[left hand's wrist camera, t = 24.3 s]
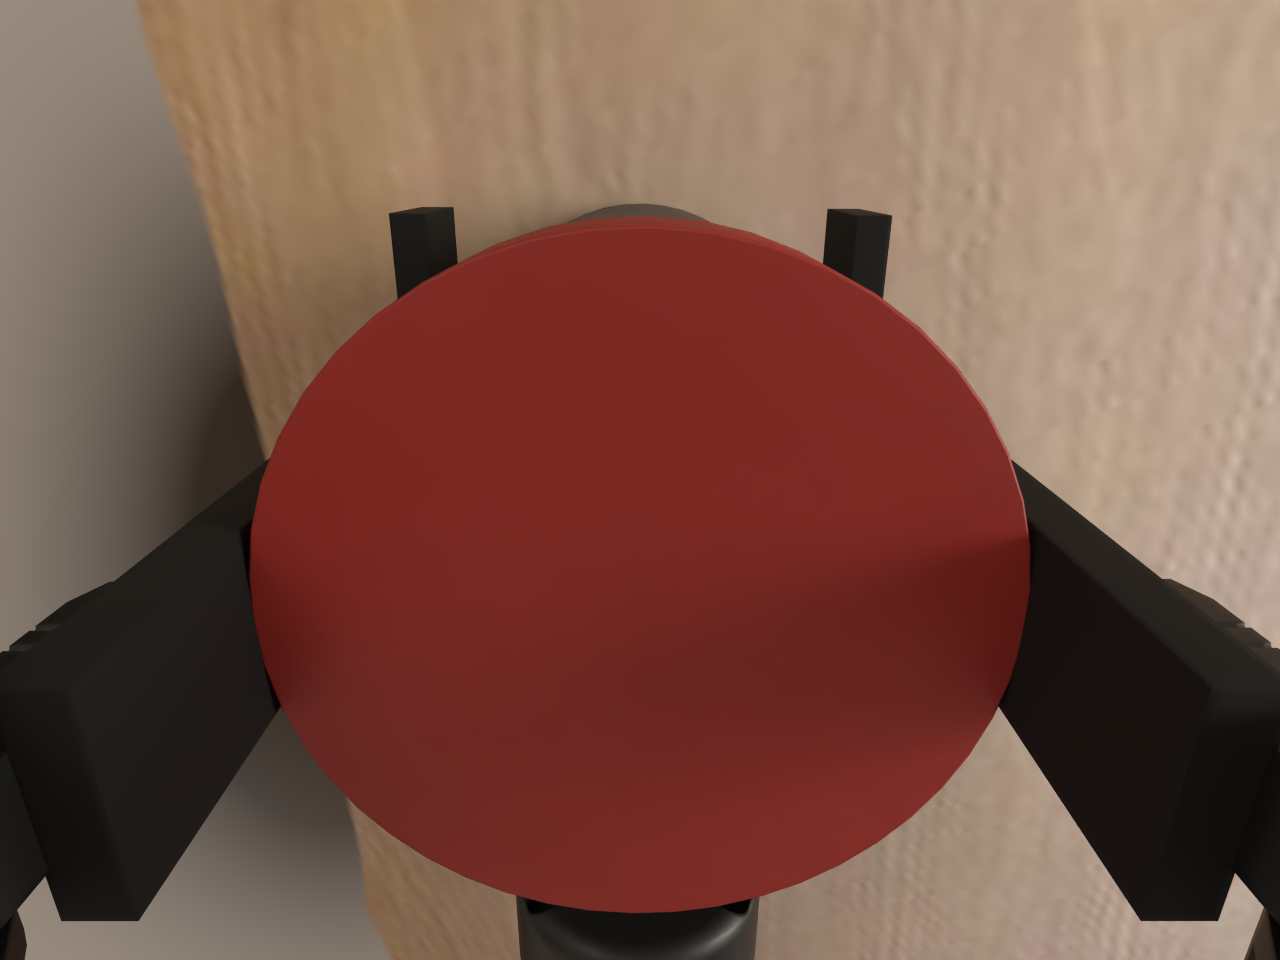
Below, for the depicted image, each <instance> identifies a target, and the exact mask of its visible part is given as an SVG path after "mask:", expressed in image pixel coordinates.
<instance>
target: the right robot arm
mask: <svg viewBox="0 0 1280 960" xmlns="http://www.w3.org/2000/svg"><path fill="white" fill-rule="evenodd" d="M389 218H390V228H391V238H392V247H393V257H394V266H395V276H396V286H397V295H398V299H399V298H400V297H402V296H403V295H405V294H406V293H408V292H409V291H411V290H412V289H413V288H415V287H416V286H418V285H419V284H421V283H422V282H424V281H426V280H428V279H430V278H431V277H433V276H435V275H437V274H439V273H441V272H443V271H444V270H446V269H448V268H450V267H452V266H454V265H456V264H458V262H457V249H456V236H455V222H454V209H453V207H420V208H415V209H410V210H405V211H399V212H394V213H389ZM891 222H892V216H891V215H886V214H881V213H876V212H871V211H866V210H861V209H828V211H827V222H826V234H825V246H824V258H823V264H824V265H826V266H828V267H829V268H831V269H833V270H835V271H836V272H838V273H840V274H842V275H844V276H845V277H847V278H849V279H851V280H852V281H854V282H856V283H858V284H860V285H861V286H863V287H865V288H867V289H868V290H870V291H872V292H874V293H876V294H877V295H878V296H879V297H881V298H882V299H883V293H884V284H885V275H886V266H887V257H888V248H889V239H890V230H891ZM516 901H517V915H518V930H519V944H520V957H521V960H754V957H755V945H756V932H757V919H758V906H759V897H756V898H752V899H747V900H743V901H739V902H734V903H730V904H726V905H721V906H716V907H708V908H700V909H693V910H685V911H677V912H652V913H623V912H608V911H592V910H584V909H578V908H572V907H566V906H560V905H554V904H548V903H544V902H540V901H536V900H532V899H529V898H525V897H521V896H517V895H516Z"/></svg>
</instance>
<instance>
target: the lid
mask: <svg viewBox="0 0 1280 960" xmlns="http://www.w3.org/2000/svg"><path fill="white" fill-rule="evenodd" d="M1030 559H1031V547H1030V539H1029V533H1028V526H1027V520H1026V513H1025V507H1024V500H1023V497H1022V493H1021V490H1020V487H1019V484H1018V481H1017V478H1016V474H1015V471H1014V468H1013V465H1012V462H1011V459H1010V455H1009V453H1008V451H1007V449H1006V447H1005V445H1004V443H1003V440H1002V438H1001V436H1000V434H999V432H998V430H997V428H996V426H995V424H994V422H993V420H992V418H991V416H990V414H989V412H988V410H987V408H986V407H985V406H984V404H983V403H982V401H981V400H980V398H979V397H978V396H977V394H976V393H975V391H974V390H973V388H972V387H971V386H970V384H969V383H968V381H967V380H966V379H965V377H964V376H963V374H962V373H961V371H960V370H959V369H958V367H957V366H956V365H955V364H954V363H953V362H952V361H951V360H950V359H949V358H948V357H947V356H946V354H945V353H944V352H943V351H942V350H941V349H940V348H939V347H938V346H937V345H936V344H935V343H934V342H933V341H932V340H931V339H930V338H929V337H928V336H927V335H926V334H925V333H924V332H923V331H922V330H921V328H920V327H918V326H917V325H916V324H914V323H913V322H912V321H911V320H909V319H908V318H907V317H905V316H904V315H903V314H901V313H900V312H899V311H898V310H896V309H895V308H894V307H892V306H891V305H890V304H888V303H887V302H886V301H885V300H883V299H882V298H881V297H879V296H878V295H877V294H876V293H874V292H872V291H870V290H868V289H867V288H865V287H863V286H861V285H860V284H858V283H856V282H854V281H852V280H851V279H849V278H847V277H845V276H844V275H842V274H840V273H838V272H836V271H835V270H833V269H831V268H829V267H828V266H826V265H824V264H822V263H820V262H818V261H816V260H815V259H813V258H811V257H809V256H807V255H805V254H803V253H802V252H800V251H798V250H795V249H792V248H790V247H787V246H785V245H782V244H780V243H777V242H774V241H772V240H769V239H767V238H764V237H762V236H759V235H756V234H754V233H751V232H747V231H743V230H739V229H734V228H730V227H726V226H722V225H717V224H713V223H709V222H705V221H700V220H689V219H678V218H668V217H657V216H633V217H610V218H595V219H590V220H584V221H579V222H573V223H568V224H562V225H557V226H551V227H546V228H543V229H540V230H537V231H534V232H531V233H528V234H525V235H522V236H519V237H516V238H513V239H510V240H507V241H504V242H501V243H498V244H496V245H494V246H492V247H490V248H488V249H486V250H484V251H482V252H480V253H478V254H476V255H474V256H472V257H470V258H468V259H466V260H464V261H462V262H460V263H458V264H456V265H454V266H452V267H450V268H448V269H446V270H444V271H443V272H441V273H439V274H437V275H435V276H433V277H431V278H430V279H428V280H426V281H424V282H422V283H421V284H419V285H418V286H416V287H415V288H413V289H412V290H411V291H409V292H408V293H406V294H405V295H403V296H402V297H400V298H399V299H398V300H396V301H395V302H393V303H392V304H390V305H389V306H387V307H386V308H385V309H383V310H382V311H380V312H379V313H377V314H376V315H375V316H374V317H373V318H371V319H370V320H369V321H368V322H367V323H366V324H365V325H364V326H363V327H362V328H361V329H360V330H359V331H358V332H357V333H355V334H354V335H353V336H352V337H351V338H350V339H349V340H348V341H347V342H346V343H345V344H344V345H343V346H342V347H340V348H339V349H338V350H337V351H336V352H335V353H334V355H333V356H332V357H331V359H330V360H329V361H328V362H327V364H326V365H325V366H324V367H323V369H322V370H321V371H320V372H319V374H318V375H317V376H316V377H315V379H314V380H313V381H312V383H311V384H310V385H309V386H308V388H307V389H306V390H305V391H304V393H303V394H302V396H301V398H300V400H299V401H298V403H297V405H296V407H295V408H294V410H293V412H292V414H291V415H290V417H289V419H288V421H287V422H286V424H285V426H284V428H283V429H282V431H281V433H280V435H279V436H278V439H277V441H276V444H275V447H274V449H273V452H272V455H271V457H270V460H269V463H268V465H267V468H266V471H265V473H264V476H263V478H262V481H261V484H260V489H259V494H258V499H257V503H256V508H255V513H254V518H253V522H252V527H251V540H250V559H249V586H250V596H251V603H252V609H253V614H254V620H255V625H256V630H257V634H258V639H259V644H260V649H261V653H262V658H263V663H264V666H265V669H266V671H267V674H268V676H269V679H270V681H271V684H272V686H273V689H274V691H275V694H276V696H277V699H278V701H279V703H280V706H281V707H282V709H283V711H284V713H285V714H286V716H287V718H288V720H289V721H290V723H291V725H292V727H293V728H294V730H295V732H296V733H297V735H298V737H299V739H300V740H301V742H302V744H303V745H304V746H305V748H306V749H307V750H308V752H309V753H310V754H311V755H312V757H313V758H314V759H315V761H316V762H317V763H318V765H319V766H320V767H321V769H322V770H323V771H324V773H325V774H326V775H327V777H328V778H329V779H330V780H331V781H332V782H333V783H334V784H335V785H336V786H337V787H338V788H339V789H340V790H341V791H342V792H343V793H344V794H345V795H346V796H347V797H348V798H349V799H350V800H351V801H352V802H353V803H354V804H355V806H356V807H357V808H359V809H360V810H361V811H362V812H364V813H365V814H366V815H367V816H368V817H370V818H371V819H372V820H373V821H375V822H376V823H377V824H378V825H380V826H381V827H382V828H383V829H384V830H386V831H387V832H388V833H389V834H391V835H392V836H394V837H395V838H397V839H398V840H400V841H401V842H403V843H405V844H406V845H408V846H409V847H411V848H412V849H414V850H415V851H417V852H419V853H420V854H422V855H423V856H425V857H426V858H428V859H430V860H432V861H434V862H436V863H438V864H440V865H442V866H444V867H446V868H448V869H450V870H452V871H454V872H456V873H458V874H460V875H462V876H464V877H466V878H469V879H472V880H474V881H477V882H479V883H482V884H485V885H487V886H490V887H493V888H495V889H498V890H501V891H503V892H506V893H510V894H514V895H517V896H521V897H525V898H529V899H532V900H536V901H540V902H544V903H548V904H554V905H560V906H566V907H572V908H578V909H584V910H592V911H608V912H623V913H652V912H677V911H685V910H693V909H700V908H708V907H716V906H721V905H726V904H730V903H734V902H739V901H743V900H747V899H752V898H756V897H760V896H763V895H766V894H769V893H772V892H775V891H778V890H781V889H784V888H787V887H790V886H793V885H796V884H799V883H801V882H803V881H806V880H808V879H810V878H812V877H814V876H817V875H819V874H821V873H823V872H825V871H828V870H830V869H832V868H834V867H836V866H839V865H840V864H842V863H844V862H846V861H847V860H849V859H851V858H852V857H854V856H856V855H857V854H859V853H861V852H862V851H864V850H866V849H868V848H869V847H871V846H873V845H874V844H876V843H877V842H879V841H880V840H881V839H883V838H884V837H885V836H887V835H888V834H889V833H891V832H892V831H893V830H895V829H896V828H897V827H899V826H900V825H901V824H903V823H904V822H905V821H907V820H908V819H909V818H911V817H912V816H913V815H914V814H915V813H916V812H917V811H918V810H919V809H920V808H921V807H922V806H923V805H924V804H926V803H927V802H928V801H929V800H930V799H931V798H932V797H933V796H934V795H935V794H936V793H937V792H938V791H939V790H940V789H941V788H942V787H943V786H944V785H945V784H946V782H947V781H948V780H949V779H950V778H951V776H952V775H953V774H954V773H955V772H956V770H957V769H958V768H959V767H960V766H961V764H962V763H963V762H964V761H965V760H966V758H967V757H968V756H969V755H970V753H971V752H972V750H973V748H974V747H975V745H976V744H977V742H978V741H979V739H980V737H981V736H982V734H983V733H984V731H985V730H986V728H987V726H988V725H989V723H990V722H991V720H992V719H993V716H994V714H995V712H996V710H997V708H998V706H999V704H1000V701H1001V699H1002V697H1003V695H1004V693H1005V691H1006V688H1007V686H1008V684H1009V682H1010V680H1011V677H1012V674H1013V670H1014V667H1015V664H1016V659H1017V655H1018V650H1019V646H1020V641H1021V636H1022V631H1023V626H1024V621H1025V615H1026V610H1027V605H1028V599H1029V594H1030Z"/></svg>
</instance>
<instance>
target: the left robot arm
mask: <svg viewBox="0 0 1280 960" xmlns="http://www.w3.org/2000/svg"><path fill="white" fill-rule="evenodd" d="M269 460H270V459H268V460H267V461H266V462H264V463H263V464H262V465H261V466H259V467H258V468H257V469H256V470H254V471H253V472H252V473H251V474H249V475H248V476H247V477H246V478H244V479H243V480H242V481H240V482H239V483H238V484H237V485H236V486H234V487H233V488H232V489H230V490H229V491H228V492H227V493H225V494H224V495H223V496H222V497H220V498H219V499H218V500H217V501H215V502H214V503H213V504H212V505H210V506H209V507H208V508H206V509H205V510H204V511H203V512H201V513H200V514H199V515H198V516H196V517H195V518H194V519H192V520H191V521H190V522H189V523H187V524H186V525H185V526H184V527H182V528H181V529H180V530H179V531H177V532H176V533H175V534H174V535H172V536H171V537H170V538H168V539H167V540H166V541H165V542H163V543H162V544H161V545H160V546H158V547H157V548H156V549H155V550H153V551H152V552H151V553H150V554H148V555H147V556H146V557H144V558H143V559H142V560H141V561H139V562H138V563H137V564H136V565H134V566H133V567H132V568H131V569H129V570H128V571H127V572H126V573H124V574H123V575H122V576H121V577H119V578H118V579H117V580H115V581H114V582H109V583H106V584H104V585H102V586H100V587H98V588H96V589H94V590H92V591H90V592H88V593H85V594H83V595H81V596H79V597H77V598H75V599H73V600H71V601H69V602H67V603H65V604H64V605H63V606H61V607H60V608H59V609H57V610H56V611H55V612H54V613H52V614H51V615H50V616H48V617H47V618H46V619H44V620H43V621H42V622H40V623H39V624H38V625H36V630H35V631H29V632H27V633H26V634H25V635H23V636H22V637H21V638H19V639H18V640H17V641H16V642H14V643H13V644H12V645H10V649H9V651H2V652H1V653H0V960H25V953H26V947H27V943H26V938H25V932H24V927H23V925H22V922H21V919H20V917H19V914H18V911H17V909H18V908H19V907H20V906H21V905H22V903H23V902H24V901H25V900H26V898H27V897H28V896H29V895H30V894H31V893H32V891H33V890H34V889H35V888H36V887H37V885H38V884H39V883H40V882H41V881H42V879H43V878H44V877H45V876H46V879H47V882H48V884H49V887H50V890H51V893H52V896H53V899H54V901H55V904H56V907H57V910H58V913H59V916H60V918H61V921H139V919H140V918H141V916H142V915H143V913H144V912H145V910H146V909H147V907H148V906H149V904H150V903H151V901H152V900H153V898H154V897H155V895H156V894H157V892H158V891H159V889H160V888H161V886H162V885H163V883H164V882H165V880H166V879H167V877H168V876H169V874H170V873H171V871H172V870H173V868H174V867H175V865H176V864H177V862H178V861H179V859H180V858H181V856H182V855H183V853H184V852H185V850H186V849H187V847H188V846H189V844H190V843H191V841H192V840H193V838H194V837H195V835H196V834H197V832H198V830H199V829H200V827H201V826H202V824H203V823H204V821H205V820H206V818H207V817H208V815H209V814H210V812H211V811H212V809H213V808H214V806H215V805H216V803H217V802H218V800H219V799H220V797H221V796H222V794H223V793H224V791H225V790H226V788H227V787H228V785H229V784H230V782H231V781H232V779H233V778H234V776H235V775H236V773H237V772H238V770H239V769H240V767H241V766H242V764H243V763H244V761H245V760H246V758H247V757H248V755H249V754H250V752H251V751H252V749H253V748H254V746H255V745H256V743H257V742H258V740H259V739H260V737H261V735H262V734H263V732H264V731H265V729H266V728H267V726H268V725H269V723H270V722H271V720H272V719H273V717H274V716H275V714H276V713H277V711H278V710H279V708H280V707H281V706H280V703H279V701H278V699H277V696H276V694H275V691H274V689H273V686H272V684H271V681H270V679H269V676H268V674H267V671H266V669H265V666H264V663H263V658H262V653H261V649H260V644H259V639H258V634H257V630H256V625H255V620H254V614H253V609H252V603H251V596H250V586H249V559H250V540H251V527H252V522H253V518H254V513H255V508H256V503H257V499H258V494H259V489H260V484H261V481H262V478H263V476H264V473H265V471H266V468H267V465H268V463H269ZM1011 462H1012V465H1013V468H1014V471H1015V474H1016V478H1017V481H1018V484H1019V487H1020V490H1021V493H1022V497H1023V500H1024V507H1025V513H1026V520H1027V526H1028V533H1029V539H1030V547H1031V559H1030V594H1029V599H1028V605H1027V610H1026V615H1025V621H1024V626H1023V631H1022V636H1021V641H1020V646H1019V650H1018V655H1017V659H1016V664H1015V667H1014V670H1013V674H1012V677H1011V680H1010V682H1009V684H1008V686H1007V688H1006V691H1005V693H1004V695H1003V697H1002V699H1001V701H1000V704H999V708H1000V709H1001V711H1002V712H1003V714H1004V715H1005V717H1006V718H1007V720H1008V721H1009V723H1010V724H1011V726H1012V727H1013V729H1014V730H1015V732H1016V733H1017V735H1018V736H1019V738H1020V739H1021V741H1022V742H1023V744H1024V745H1025V747H1026V748H1027V750H1028V751H1029V753H1030V754H1031V756H1032V757H1033V759H1034V760H1035V762H1036V763H1037V765H1038V766H1039V768H1040V769H1041V771H1042V772H1043V774H1044V775H1045V777H1046V778H1047V780H1048V782H1049V783H1050V785H1051V786H1052V788H1053V789H1054V791H1055V792H1056V794H1057V795H1058V797H1059V798H1060V800H1061V801H1062V803H1063V804H1064V806H1065V807H1066V809H1067V810H1068V812H1069V813H1070V815H1071V816H1072V818H1073V819H1074V821H1075V822H1076V824H1077V825H1078V827H1079V828H1080V830H1081V831H1082V833H1083V834H1084V836H1085V837H1086V839H1087V840H1088V842H1089V843H1090V845H1091V846H1092V848H1093V849H1094V851H1095V852H1096V854H1097V855H1098V857H1099V858H1100V860H1101V861H1102V863H1103V864H1104V866H1105V867H1106V869H1107V870H1108V872H1109V873H1110V875H1111V877H1112V878H1113V880H1114V881H1115V883H1116V884H1117V886H1118V887H1119V889H1120V890H1121V892H1122V893H1123V895H1124V896H1125V898H1126V899H1127V901H1128V902H1129V904H1130V905H1131V907H1132V908H1133V910H1134V911H1135V913H1136V914H1137V916H1138V917H1139V919H1140V920H1141V921H1218V919H1219V917H1220V914H1221V911H1222V908H1223V905H1224V902H1225V900H1226V897H1227V894H1228V891H1229V888H1230V886H1231V883H1232V880H1233V877H1234V874H1235V873H1236V874H1237V875H1238V877H1239V878H1240V879H1241V880H1242V881H1243V883H1244V884H1245V885H1246V886H1247V887H1248V889H1249V890H1250V891H1251V892H1252V893H1253V894H1254V896H1255V897H1256V898H1257V899H1258V900H1259V902H1260V903H1261V904H1262V905H1263V906H1264V909H1263V911H1262V914H1261V917H1260V919H1259V922H1258V924H1257V927H1256V930H1255V932H1254V935H1253V938H1252V940H1251V943H1250V946H1249V948H1248V951H1247V954H1246V956H1245V959H1244V960H1280V649H1278V648H1271V643H1270V642H1269V641H1268V640H1267V639H1265V638H1264V637H1263V636H1261V635H1260V634H1259V633H1257V632H1256V631H1255V630H1253V629H1252V628H1245V626H1244V624H1245V623H1244V622H1243V621H1241V620H1240V619H1239V618H1237V617H1236V616H1235V615H1233V614H1232V613H1231V612H1229V611H1228V610H1227V609H1226V608H1224V607H1223V606H1222V605H1220V604H1219V603H1218V602H1216V601H1215V600H1214V599H1212V598H1210V597H1208V596H1205V595H1203V594H1201V593H1199V592H1197V591H1195V590H1193V589H1191V588H1188V587H1186V586H1184V585H1182V584H1180V583H1178V582H1176V581H1174V580H1171V579H1161V578H1160V577H1159V576H1158V575H1156V574H1155V573H1154V572H1153V571H1151V570H1150V569H1149V568H1148V567H1146V566H1145V565H1144V564H1143V563H1141V562H1140V561H1139V560H1137V559H1136V558H1135V557H1134V556H1132V555H1131V554H1130V553H1129V552H1127V551H1126V550H1125V549H1124V548H1122V547H1121V546H1120V545H1119V544H1117V543H1116V542H1115V541H1113V540H1112V539H1111V538H1110V537H1108V536H1107V535H1106V534H1105V533H1103V532H1102V531H1101V530H1100V529H1098V528H1097V527H1096V526H1095V525H1093V524H1092V523H1091V522H1089V521H1088V520H1087V519H1086V518H1084V517H1083V516H1082V515H1081V514H1079V513H1078V512H1077V511H1076V510H1074V509H1073V508H1072V507H1071V506H1069V505H1068V504H1067V503H1065V502H1064V501H1063V500H1062V499H1060V498H1059V497H1058V496H1057V495H1055V494H1054V493H1053V492H1052V491H1050V490H1049V489H1048V488H1047V487H1045V486H1044V485H1043V484H1042V483H1040V482H1039V481H1038V480H1036V479H1035V478H1034V477H1033V476H1031V475H1030V474H1029V473H1028V472H1026V471H1025V470H1024V469H1023V468H1021V467H1020V466H1019V465H1018V464H1016V463H1015V462H1014V461H1012V460H1011Z"/></svg>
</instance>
